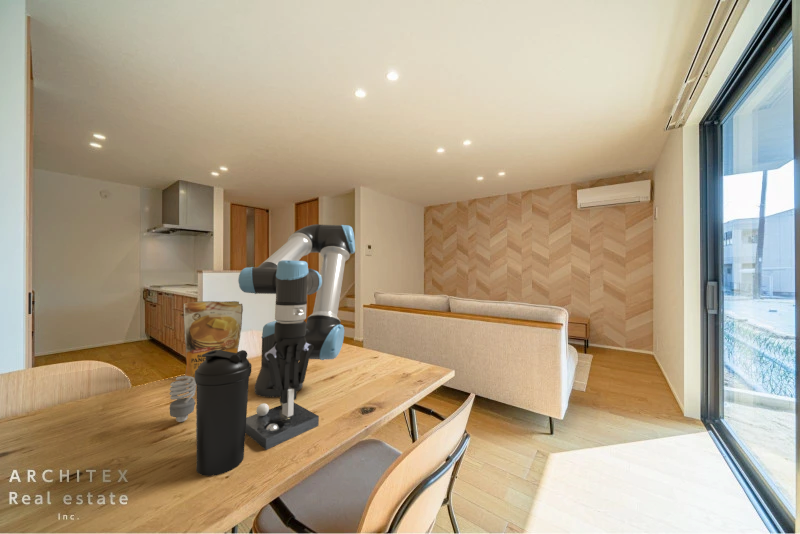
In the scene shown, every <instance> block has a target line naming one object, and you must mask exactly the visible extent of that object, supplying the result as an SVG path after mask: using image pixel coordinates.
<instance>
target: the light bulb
mask: <svg viewBox="0 0 800 534" xmlns="http://www.w3.org/2000/svg"><path fill="white" fill-rule="evenodd" d="M184 379H188V380H184ZM191 380H192V381H191ZM169 385H170V387H169V391H170V392H169V395H170V397H169V399H170V400H173V401H171V402H170V404H169V409H168V410H169V415H170V417H171V418H175V421H176V422H179V423H184V422H185V421H186V420H187V419H189V415H191V414H192V413H193V412H194V411H195V407H196V406H195V405H196V404H195V403H196V402H195V400H196V399H195V398H194V397H195V395H196V391H197V384H196V383H195V378H194V377H190V376H185V375H182V376H177V377H176V378H175V381H172V382H171V383H170V384H169Z"/></svg>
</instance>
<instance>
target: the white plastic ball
mask: <svg viewBox="0 0 800 534" xmlns="http://www.w3.org/2000/svg"><path fill="white" fill-rule="evenodd" d="M269 409H270V406H269V405H268V404H267V403H260V404H259V405H258V406H257V407H256V414H258V415H259V416H264V415H266V414H267V413H268V411H269Z"/></svg>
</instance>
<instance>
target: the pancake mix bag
mask: <svg viewBox="0 0 800 534" xmlns="http://www.w3.org/2000/svg"><path fill="white" fill-rule="evenodd" d="M182 305H183V307H182V308H183V309H182V311H183V321H184V322H183V329H184V331H183V332H184V342H185V361H186V367H185V375H184V376H190V377H194V378H195V371H196V370H197V369H198V367H199V365H200V364H201V363H202V362H204V361H205V359H206V357H202V355H203V354H205V353H207V352H209V351H212V350H223V351H227V352H233V353H237V352H239V347H240V346H239V345H240V340H241V331H242V325H243V324H242V323H243V322H242V321H243V311H244V307H243V303H240V301H235V300H233V301H215V300H214V301H212V300H211V301H210V300H208V301H188V302H186V303H183V304H182ZM183 380H188V379H183ZM191 381H192V380H191Z"/></svg>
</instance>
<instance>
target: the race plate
mask: <svg viewBox="0 0 800 534" xmlns="http://www.w3.org/2000/svg"><path fill="white" fill-rule="evenodd" d="M319 419H320V418H319V415H317V414H316V413H314V412H312V411H310V410H308V409H307V408H305V407H303V406H301V405H300V404H298V403H296V402H294V410H293V415H292V416H289V417H287V416H285V415H284V414H282V406H281V404H280V405H278V406H275V407H271V408H269V411H268V413H267V414H266V415H264V416H259V415H258V414H257V413H255V414H253V415H250V416H246V431H245V435H246V436H248V437H249V438H251V440H253V441H254V442H255V443H257V444H258V445H259V446H260V447H261V448H263V449H264V450H265V451H267V450H269V449H272V448H273V447H275V446H278V445H281V444H282V443H284V442H286V441H289V440H291V439H293V438H295V437H297V436H299V435H302V434H304V433H306V432H308V431H310V430H312V429H314V428H316V427H319V426H320V425H319V421H320V420H319ZM271 423H275V424H277V425H278V426H279V429H278V430H274V431H268V430H265V429H266V427H267V426H268V425H269V424H271Z"/></svg>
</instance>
